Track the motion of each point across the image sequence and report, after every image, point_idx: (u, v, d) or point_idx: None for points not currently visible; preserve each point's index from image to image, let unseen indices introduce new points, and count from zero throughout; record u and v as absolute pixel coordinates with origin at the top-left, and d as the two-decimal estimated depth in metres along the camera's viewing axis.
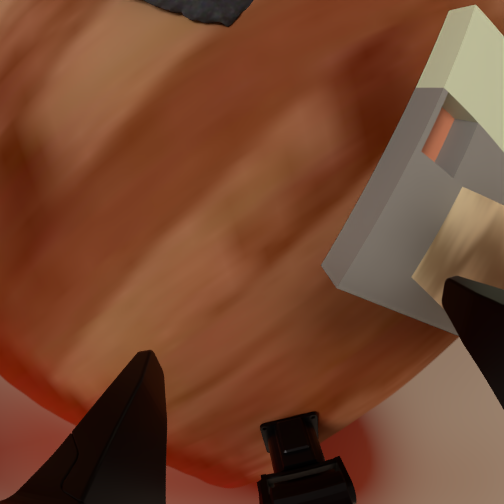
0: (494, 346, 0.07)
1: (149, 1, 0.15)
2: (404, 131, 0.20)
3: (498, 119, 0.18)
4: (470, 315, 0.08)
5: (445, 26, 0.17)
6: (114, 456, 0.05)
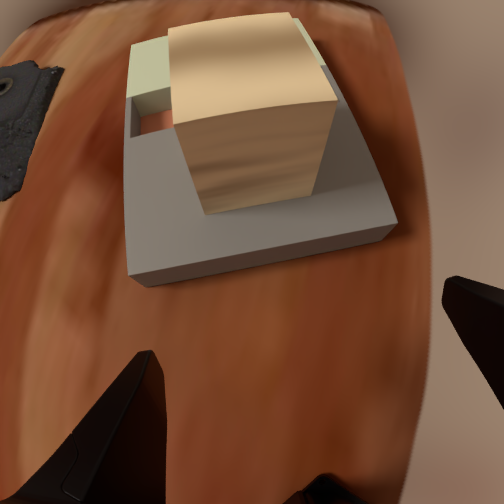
0: (494, 346, 0.07)
1: None
2: None
3: None
4: (470, 315, 0.08)
5: None
6: (114, 456, 0.05)
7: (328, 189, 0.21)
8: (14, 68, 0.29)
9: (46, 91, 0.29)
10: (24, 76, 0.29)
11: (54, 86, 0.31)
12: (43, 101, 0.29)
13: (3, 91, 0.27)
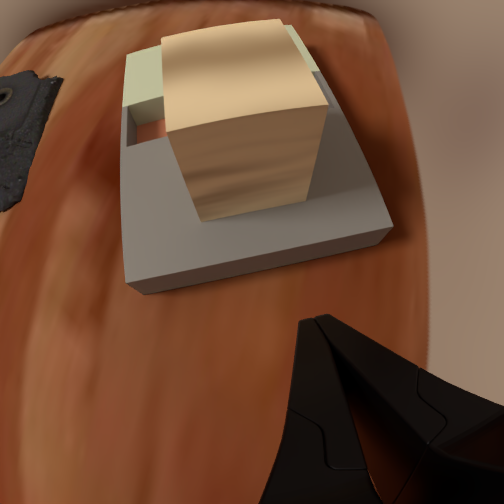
0: (352, 407, 0.06)
1: None
2: None
3: None
4: None
5: None
6: None
7: (323, 194, 0.21)
8: (14, 78, 0.30)
9: (46, 101, 0.30)
10: (24, 86, 0.30)
11: (54, 96, 0.31)
12: (43, 111, 0.30)
13: (3, 101, 0.28)
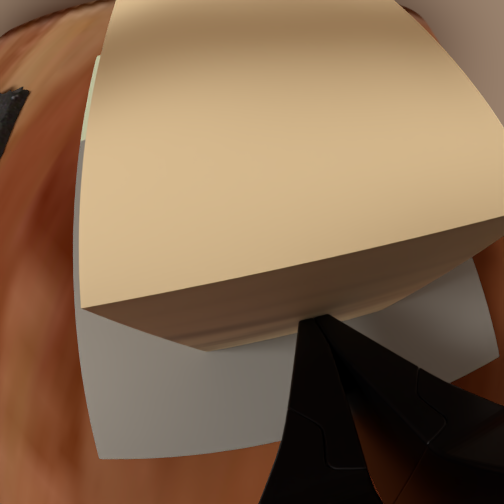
0: (352, 407, 0.06)
1: None
2: None
3: None
4: None
5: None
6: None
7: (413, 317, 0.12)
8: None
9: (2, 125, 0.21)
10: None
11: (14, 117, 0.22)
12: None
13: None
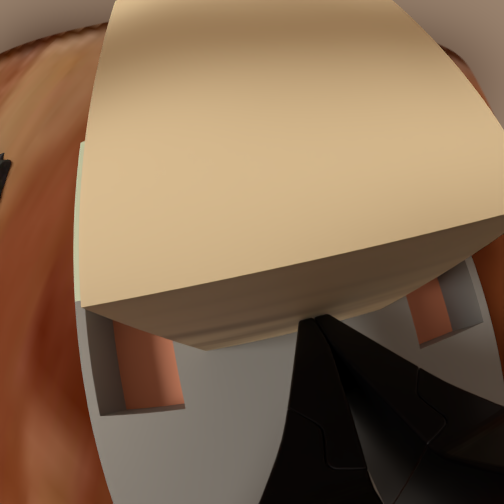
0: (352, 407, 0.06)
1: None
2: None
3: None
4: None
5: None
6: None
7: None
8: None
9: None
10: None
11: None
12: None
13: None
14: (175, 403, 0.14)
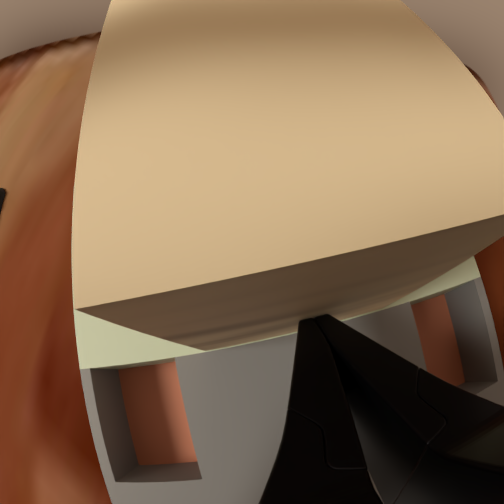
0: (352, 406, 0.06)
1: None
2: None
3: None
4: None
5: None
6: None
7: None
8: None
9: None
10: None
11: None
12: None
13: None
14: (188, 460, 0.13)
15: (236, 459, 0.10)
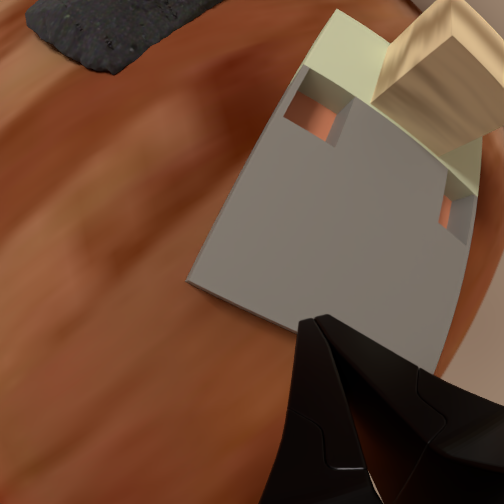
0: (352, 406, 0.06)
1: (60, 49, 0.17)
2: (271, 117, 0.21)
3: None
4: None
5: None
6: None
7: (409, 324, 0.19)
8: None
9: None
10: None
11: None
12: None
13: None
14: None
15: (356, 152, 0.19)
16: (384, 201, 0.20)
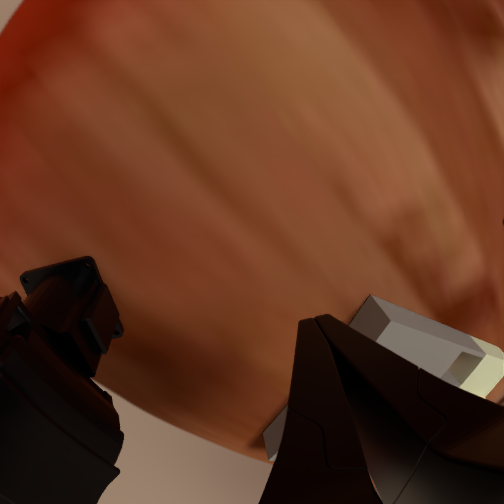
0: (352, 406, 0.06)
1: None
2: (457, 335, 0.26)
3: None
4: None
5: (493, 346, 0.30)
6: None
7: None
8: None
9: None
10: None
11: None
12: None
13: None
14: None
15: None
16: None
